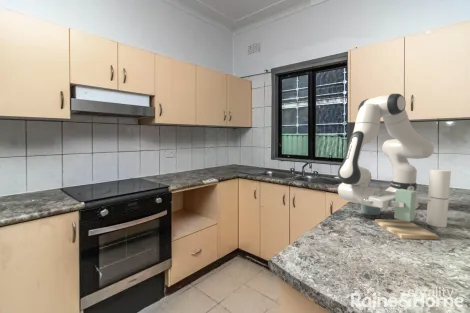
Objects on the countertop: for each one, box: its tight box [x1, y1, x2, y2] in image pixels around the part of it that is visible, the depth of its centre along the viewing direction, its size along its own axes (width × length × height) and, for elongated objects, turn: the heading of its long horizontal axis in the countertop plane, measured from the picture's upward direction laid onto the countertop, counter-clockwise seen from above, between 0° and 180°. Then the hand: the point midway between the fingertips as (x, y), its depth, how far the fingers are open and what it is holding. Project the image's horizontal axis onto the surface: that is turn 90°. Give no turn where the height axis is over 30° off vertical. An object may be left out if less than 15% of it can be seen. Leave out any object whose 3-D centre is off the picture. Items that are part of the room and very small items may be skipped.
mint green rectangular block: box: [393, 189, 417, 222], centre depth 100 cm, size 6×6×12 cm
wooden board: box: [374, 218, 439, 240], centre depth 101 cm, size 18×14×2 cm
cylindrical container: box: [425, 168, 452, 228], centre depth 107 cm, size 7×7×25 cm
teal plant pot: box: [360, 203, 381, 216], centre depth 124 cm, size 10×10×12 cm
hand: (407, 204), depth 99 cm, fingers closed on mint green rectangular block, 5 cm apart
